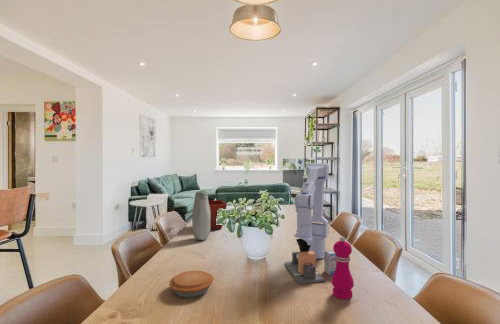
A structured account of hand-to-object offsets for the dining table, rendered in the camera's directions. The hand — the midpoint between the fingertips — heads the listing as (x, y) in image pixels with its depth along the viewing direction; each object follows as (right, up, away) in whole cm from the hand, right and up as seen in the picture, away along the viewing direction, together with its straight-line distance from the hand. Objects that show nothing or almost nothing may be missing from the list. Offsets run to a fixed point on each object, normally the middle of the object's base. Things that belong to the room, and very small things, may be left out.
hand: (304, 257), depth 113 cm
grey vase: (-50, -6, +48) cm, 69 cm away
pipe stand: (0, -7, +2) cm, 7 cm away
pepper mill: (+10, -7, -17) cm, 21 cm away
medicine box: (+13, -7, +1) cm, 15 cm away
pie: (-43, -8, -13) cm, 45 cm away
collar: (0, -5, -3) cm, 5 cm away
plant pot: (-48, -6, +74) cm, 89 cm away
